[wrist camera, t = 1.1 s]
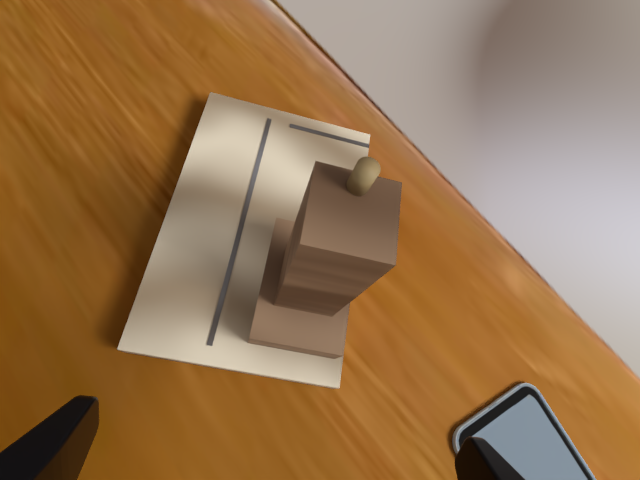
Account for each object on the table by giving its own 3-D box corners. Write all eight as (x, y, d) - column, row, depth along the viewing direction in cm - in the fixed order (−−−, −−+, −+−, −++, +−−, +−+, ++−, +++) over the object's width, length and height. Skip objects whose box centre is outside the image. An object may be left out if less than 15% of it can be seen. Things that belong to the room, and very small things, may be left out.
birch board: (332, 388, 22) (339, 388, 21) (124, 352, 21) (116, 349, 19) (364, 146, 30) (370, 134, 28) (211, 106, 28) (210, 91, 27)
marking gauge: (334, 359, 21) (438, 322, 10) (247, 343, 21) (260, 285, 10) (348, 248, 24) (442, 126, 13) (273, 230, 24) (305, 88, 13)
